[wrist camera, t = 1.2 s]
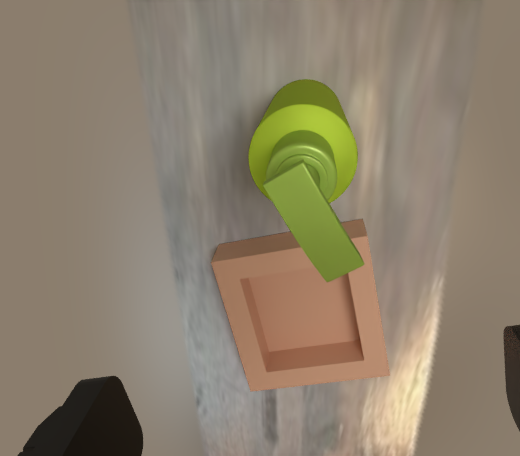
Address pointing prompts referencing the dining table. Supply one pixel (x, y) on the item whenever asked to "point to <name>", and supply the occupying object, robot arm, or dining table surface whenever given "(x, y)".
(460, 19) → the dining table surface
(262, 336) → the tray
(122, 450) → the robot arm
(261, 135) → the green pump bottle
